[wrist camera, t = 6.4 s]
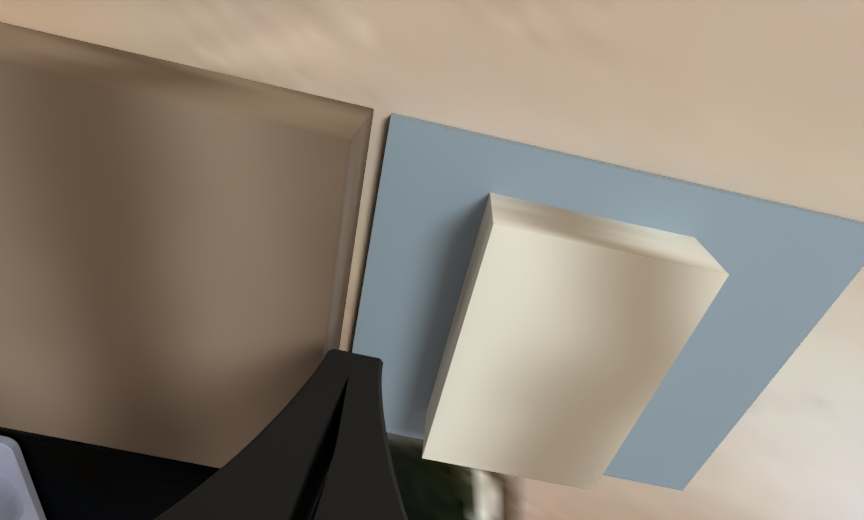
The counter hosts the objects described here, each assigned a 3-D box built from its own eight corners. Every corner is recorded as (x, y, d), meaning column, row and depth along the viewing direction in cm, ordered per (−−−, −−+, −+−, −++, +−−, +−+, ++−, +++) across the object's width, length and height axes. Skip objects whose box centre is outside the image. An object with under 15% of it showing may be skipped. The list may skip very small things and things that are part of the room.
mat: (341, 417, 18) (340, 423, 18) (392, 112, 12) (390, 115, 12) (679, 483, 19) (682, 490, 19) (882, 227, 13) (890, 231, 13)
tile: (592, 490, 16) (580, 441, 18) (729, 274, 12) (694, 237, 13) (421, 458, 16) (426, 411, 18) (493, 223, 11) (489, 192, 13)
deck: (17, 353, 18) (-60, 415, 15) (-97, -1, 12) (-255, 3, 9) (329, 414, 18) (307, 484, 16) (374, 109, 12) (349, 140, 10)
